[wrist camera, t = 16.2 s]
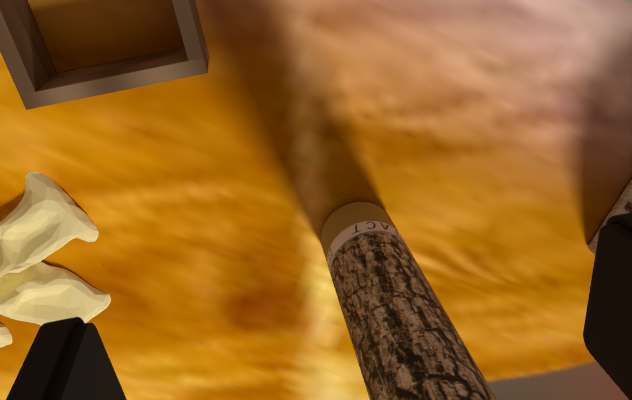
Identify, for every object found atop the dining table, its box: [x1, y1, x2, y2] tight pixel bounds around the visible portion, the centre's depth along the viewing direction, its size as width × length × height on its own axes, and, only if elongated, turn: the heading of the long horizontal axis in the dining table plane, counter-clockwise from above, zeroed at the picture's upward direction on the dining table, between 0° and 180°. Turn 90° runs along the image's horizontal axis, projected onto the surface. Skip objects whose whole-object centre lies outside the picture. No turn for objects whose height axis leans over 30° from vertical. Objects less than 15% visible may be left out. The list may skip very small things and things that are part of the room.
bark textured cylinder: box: [321, 202, 496, 400], centre depth 38 cm, size 7×7×25 cm
